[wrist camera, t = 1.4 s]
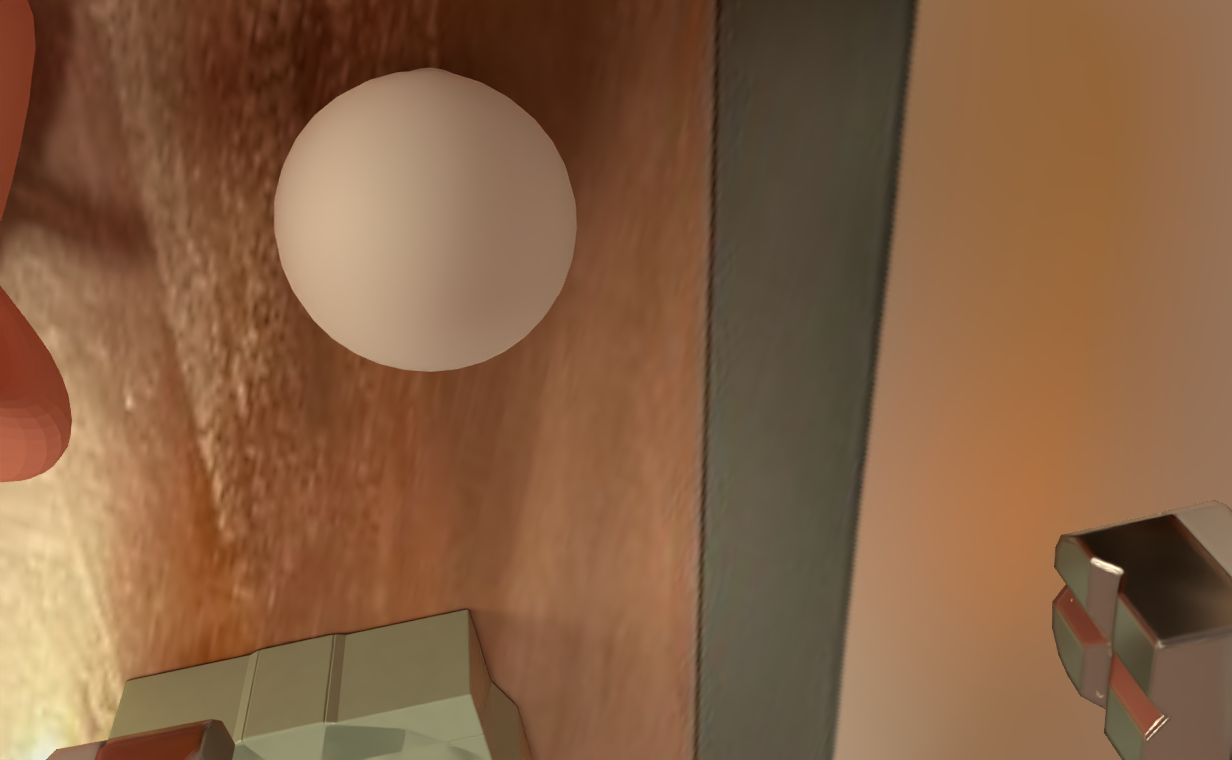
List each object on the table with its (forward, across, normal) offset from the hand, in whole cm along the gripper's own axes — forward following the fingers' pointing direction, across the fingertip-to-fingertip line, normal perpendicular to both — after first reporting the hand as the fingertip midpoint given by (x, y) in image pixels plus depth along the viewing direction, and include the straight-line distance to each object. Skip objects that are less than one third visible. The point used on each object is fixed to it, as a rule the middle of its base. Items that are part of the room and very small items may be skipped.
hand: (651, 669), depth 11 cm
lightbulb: (+22, +3, +1) cm, 22 cm away
